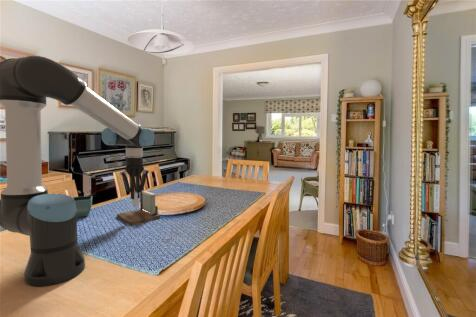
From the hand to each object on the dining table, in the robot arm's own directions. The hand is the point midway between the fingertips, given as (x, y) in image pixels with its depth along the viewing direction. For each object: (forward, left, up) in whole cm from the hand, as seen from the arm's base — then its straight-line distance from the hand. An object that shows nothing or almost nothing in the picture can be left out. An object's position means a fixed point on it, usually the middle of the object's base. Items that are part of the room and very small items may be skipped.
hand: (135, 205), depth 127 cm
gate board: (+3, +3, -7) cm, 8 cm away
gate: (+8, +2, -5) cm, 10 cm away
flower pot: (-16, +25, -8) cm, 31 cm away
